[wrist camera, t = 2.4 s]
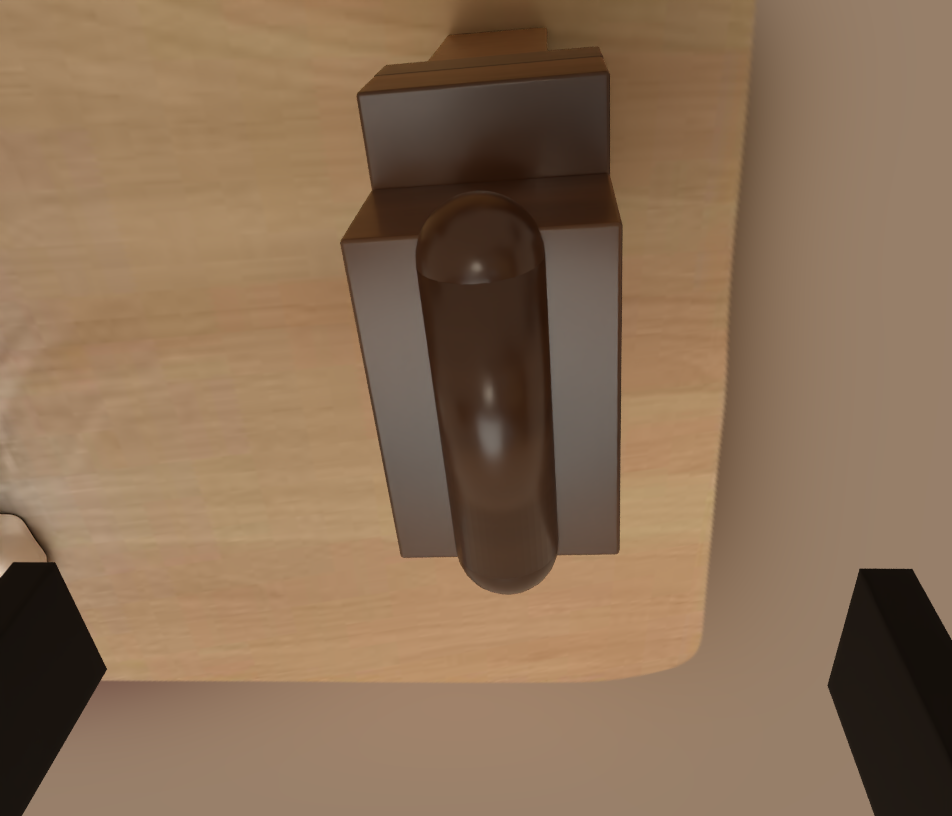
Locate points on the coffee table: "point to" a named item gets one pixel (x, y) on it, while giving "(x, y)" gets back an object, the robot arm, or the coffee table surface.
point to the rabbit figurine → (17, 543)
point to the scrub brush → (493, 308)
